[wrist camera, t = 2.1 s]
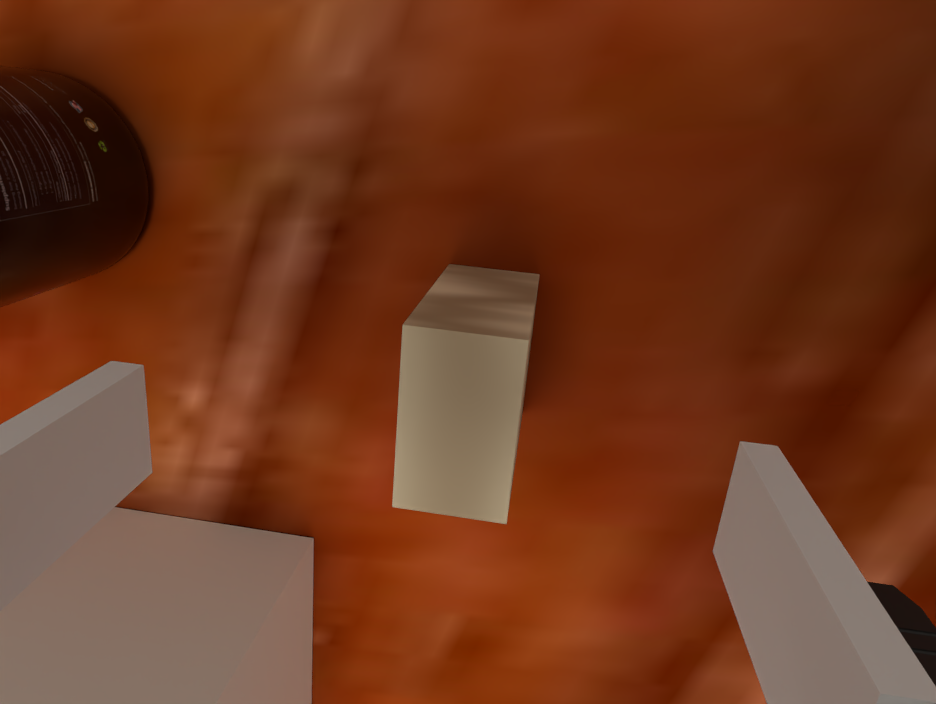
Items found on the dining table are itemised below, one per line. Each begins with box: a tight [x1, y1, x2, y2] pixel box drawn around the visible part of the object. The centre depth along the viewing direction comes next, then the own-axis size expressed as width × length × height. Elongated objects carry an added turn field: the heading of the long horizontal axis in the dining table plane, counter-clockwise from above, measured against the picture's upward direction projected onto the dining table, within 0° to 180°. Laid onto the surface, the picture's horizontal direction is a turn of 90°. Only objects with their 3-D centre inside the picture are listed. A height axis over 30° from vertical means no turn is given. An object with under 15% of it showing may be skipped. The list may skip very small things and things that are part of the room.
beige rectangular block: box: [392, 264, 540, 524], centre depth 20 cm, size 3×5×7 cm, turn 175°
